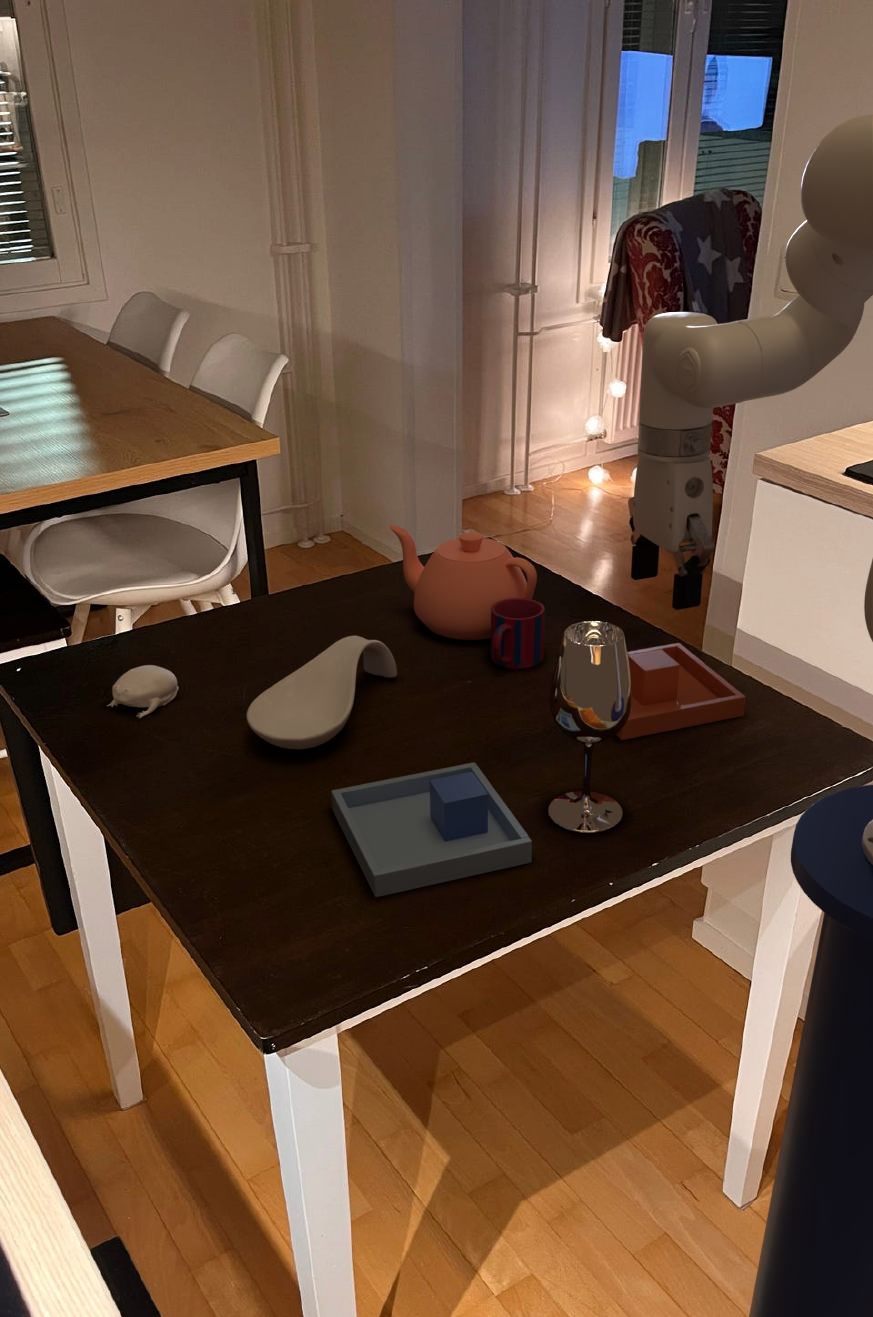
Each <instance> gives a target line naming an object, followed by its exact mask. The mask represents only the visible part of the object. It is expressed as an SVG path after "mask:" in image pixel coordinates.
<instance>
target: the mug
mask: <svg viewBox="0 0 873 1317" xmlns="http://www.w3.org/2000/svg"><path fill="white" fill-rule="evenodd" d="M545 613H546V608H545V606H544V605H543V604H542V603H541V602H539V601H537V600H534V599H532V600H531V599H526V598H510V599H504V600H501V601H498V602H496V603H495V604H493V605H492V607H491V638H490V659H491V661H492V663H494V664H495V665H497V666H499V667H501V668H506V669H509V670H510V669H512V670H523V669H530V668H533V667H536V666H538V665H539V664H540V663H542V662H543V660H544V656H545V655H544V654H545V618H546V615H545Z"/></svg>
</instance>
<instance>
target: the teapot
mask: <svg viewBox="0 0 873 1317" xmlns="http://www.w3.org/2000/svg"><path fill="white" fill-rule="evenodd" d="M389 529H390V530H391V531H392V532H393V534H395V535H396V537H397V539H398V540H399V542H400V546H401V551H402V552H401V553H402V571H403V577H404V580H405V583H406V585H407V586H408V587H409V589H410V590H411V591H412V592H413V593H414V596H413V610H414V613H415V615H416V617H417V618H418V619H419V621H420V622H421V623H423V624H424V626H425V627H426V628H427V629H429V630H430V631H431V632H433V633H435V634H437V635H439V636H442V637H445V638H449V639H454V640H462V641H463V640H465V641H477V640H478V641H479V640H487V639H491V607H492V605H493V604H495V603H496V602H498V601H501V600H504V599H510V598H526V599H531V600H533V597H534V593H535V589H536V588H537V582H538V581H537V580H538V573H537V569H536V568H535V566H534V565H533V564H532V563H531V562H530V561H528V560H527V559H525V558H522V557H514V556H513V555H512V553H511V551H510V550H509V549H508V548H507V547H506V546H505V545H504V544H503V543H502V542H499V541H498V540H495V539H492V538H486V537H484V535H483V534H482V533H480V532H476V531H467V532H462V533H460V534H459V536H458V538H454V539H450V540H446V541H444V542H443V543H441V544H440V545H439V546H437V547H436V549H435V550H434V551H433V553H432V554H431V555H430V557H429V559H428V560H427V562H426V564H425V565H423V564H422V563H421V562H420V559H419V557H418V553H417V548H416V543H415V540H414V538H413V536H412V534H410V532H408V531H407V530H406V529H404V528H402V527H400V526H398V525H392V524H391V525H389ZM523 572H524V573H525V575H526V578H527V580H526V578H525V575H524V573H523Z"/></svg>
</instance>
